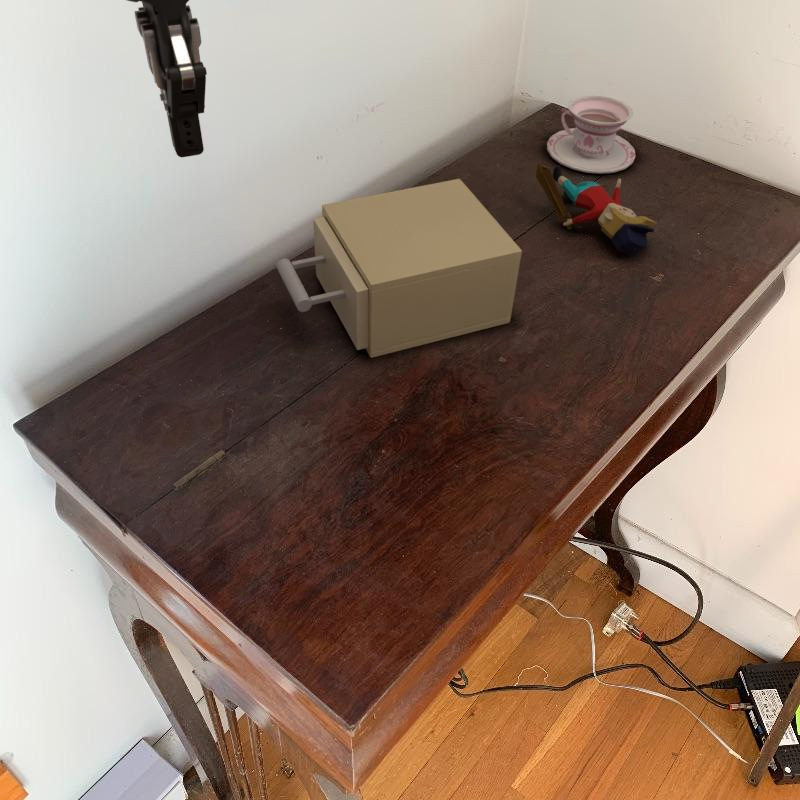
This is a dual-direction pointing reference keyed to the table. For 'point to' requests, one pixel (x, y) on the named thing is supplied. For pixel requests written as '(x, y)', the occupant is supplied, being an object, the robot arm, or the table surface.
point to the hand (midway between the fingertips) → (189, 151)
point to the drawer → (331, 282)
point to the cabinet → (427, 263)
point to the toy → (597, 209)
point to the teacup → (593, 136)
